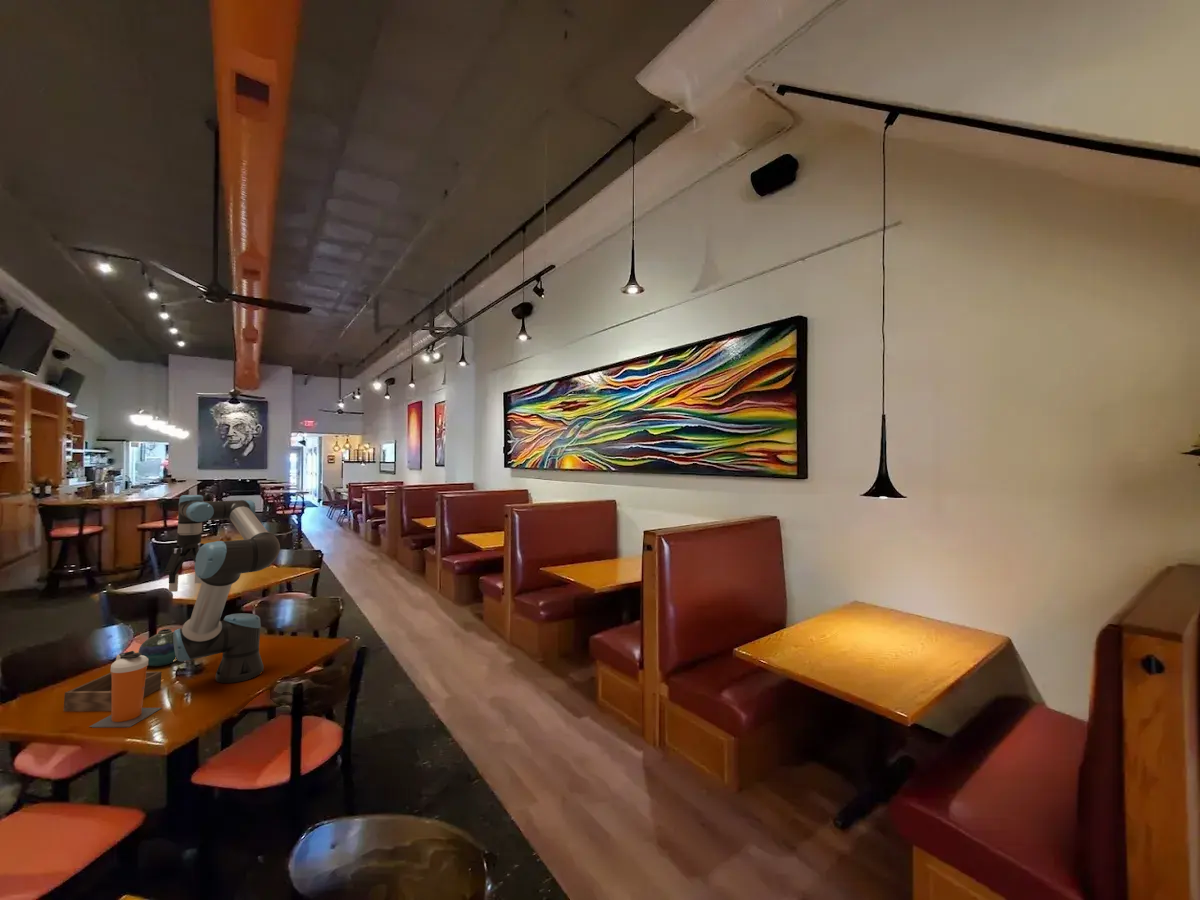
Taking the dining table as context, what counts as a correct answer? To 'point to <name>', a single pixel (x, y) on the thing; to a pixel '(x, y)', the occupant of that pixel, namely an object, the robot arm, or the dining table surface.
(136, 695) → the shaker bottle
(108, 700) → the square wooden frame
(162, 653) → the vase
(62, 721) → the dining table surface
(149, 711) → the slate board
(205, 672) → the dining table surface
